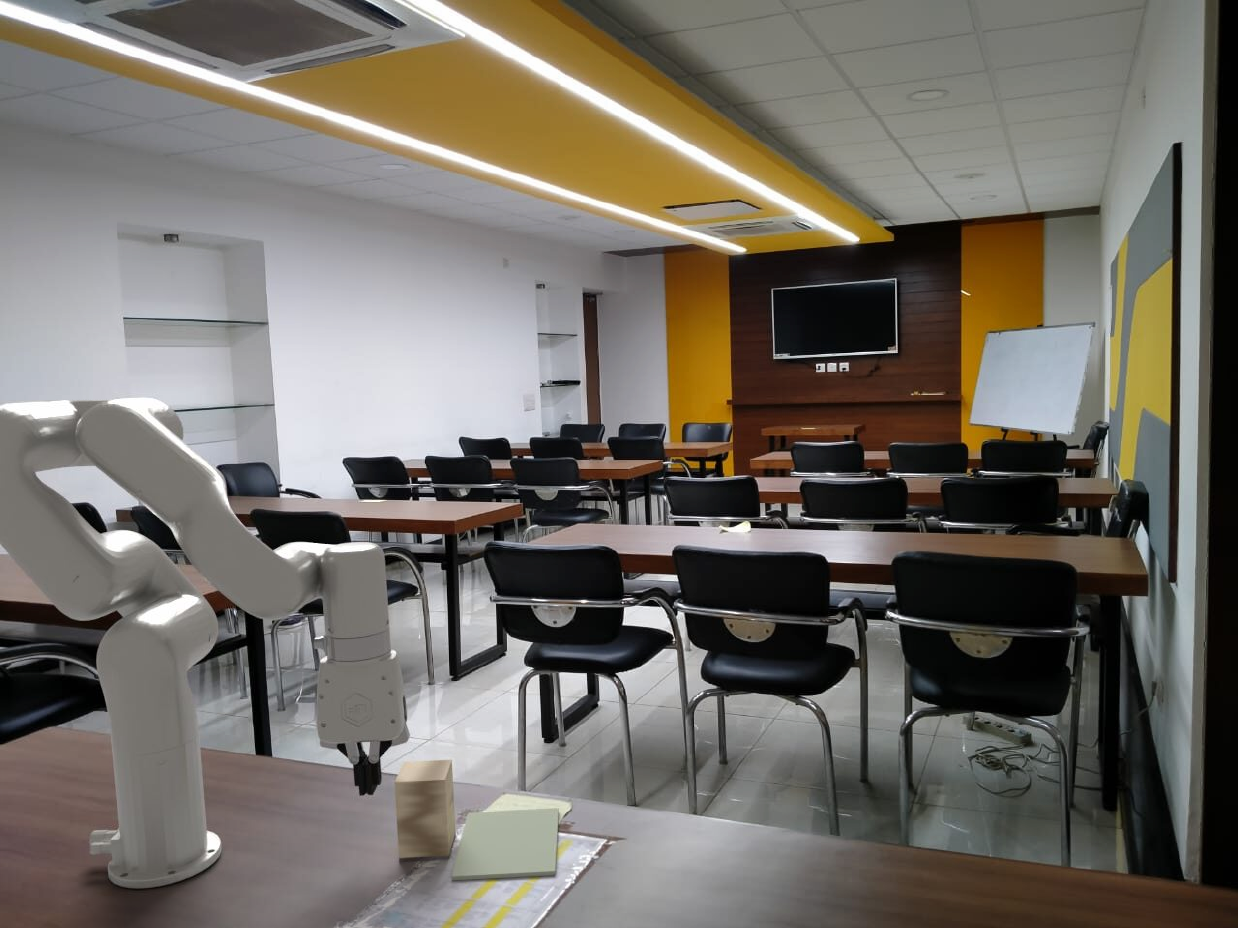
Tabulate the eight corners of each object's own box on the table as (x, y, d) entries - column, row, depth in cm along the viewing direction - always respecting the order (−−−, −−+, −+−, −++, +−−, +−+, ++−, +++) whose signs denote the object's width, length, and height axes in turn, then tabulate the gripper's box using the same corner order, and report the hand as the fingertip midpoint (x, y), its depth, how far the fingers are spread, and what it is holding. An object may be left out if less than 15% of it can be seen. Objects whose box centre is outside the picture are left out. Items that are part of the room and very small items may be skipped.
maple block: (399, 861, 114) (394, 782, 113) (408, 837, 120) (403, 761, 119) (449, 859, 114) (444, 779, 114) (455, 835, 120) (451, 759, 119)
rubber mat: (451, 880, 110) (451, 876, 109) (468, 816, 125) (468, 812, 125) (555, 874, 110) (555, 870, 110) (558, 811, 126) (558, 808, 126)
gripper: (286, 657, 111) (298, 808, 112) (415, 650, 111) (424, 800, 113) (305, 639, 118) (316, 781, 120) (425, 633, 119) (434, 774, 120)
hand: (368, 790), depth 116 cm, fingers closed
